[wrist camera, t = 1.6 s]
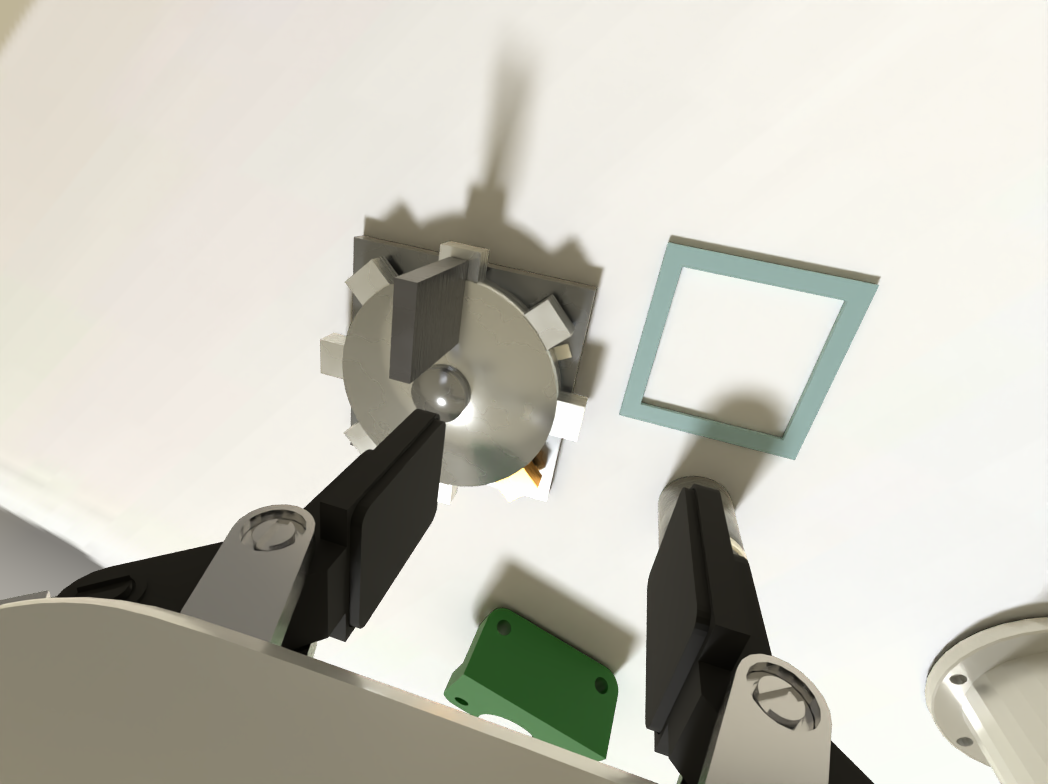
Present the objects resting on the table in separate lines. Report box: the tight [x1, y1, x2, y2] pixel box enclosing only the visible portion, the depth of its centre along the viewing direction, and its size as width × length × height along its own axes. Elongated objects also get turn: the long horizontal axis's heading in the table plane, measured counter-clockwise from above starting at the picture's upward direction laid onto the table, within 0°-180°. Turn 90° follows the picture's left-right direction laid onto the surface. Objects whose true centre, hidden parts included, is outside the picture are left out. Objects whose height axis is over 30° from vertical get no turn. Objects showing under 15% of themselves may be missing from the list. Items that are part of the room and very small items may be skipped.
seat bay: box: [619, 242, 879, 460], centre depth 26 cm, size 10×10×1 cm
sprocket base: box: [351, 235, 597, 501], centre depth 30 cm, size 14×14×1 cm
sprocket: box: [320, 241, 588, 504], centre depth 26 cm, size 16×16×8 cm
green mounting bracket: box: [444, 608, 618, 761], centre depth 37 cm, size 12×6×9 cm, turn 56°
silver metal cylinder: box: [658, 476, 748, 561], centre depth 28 cm, size 4×4×6 cm
